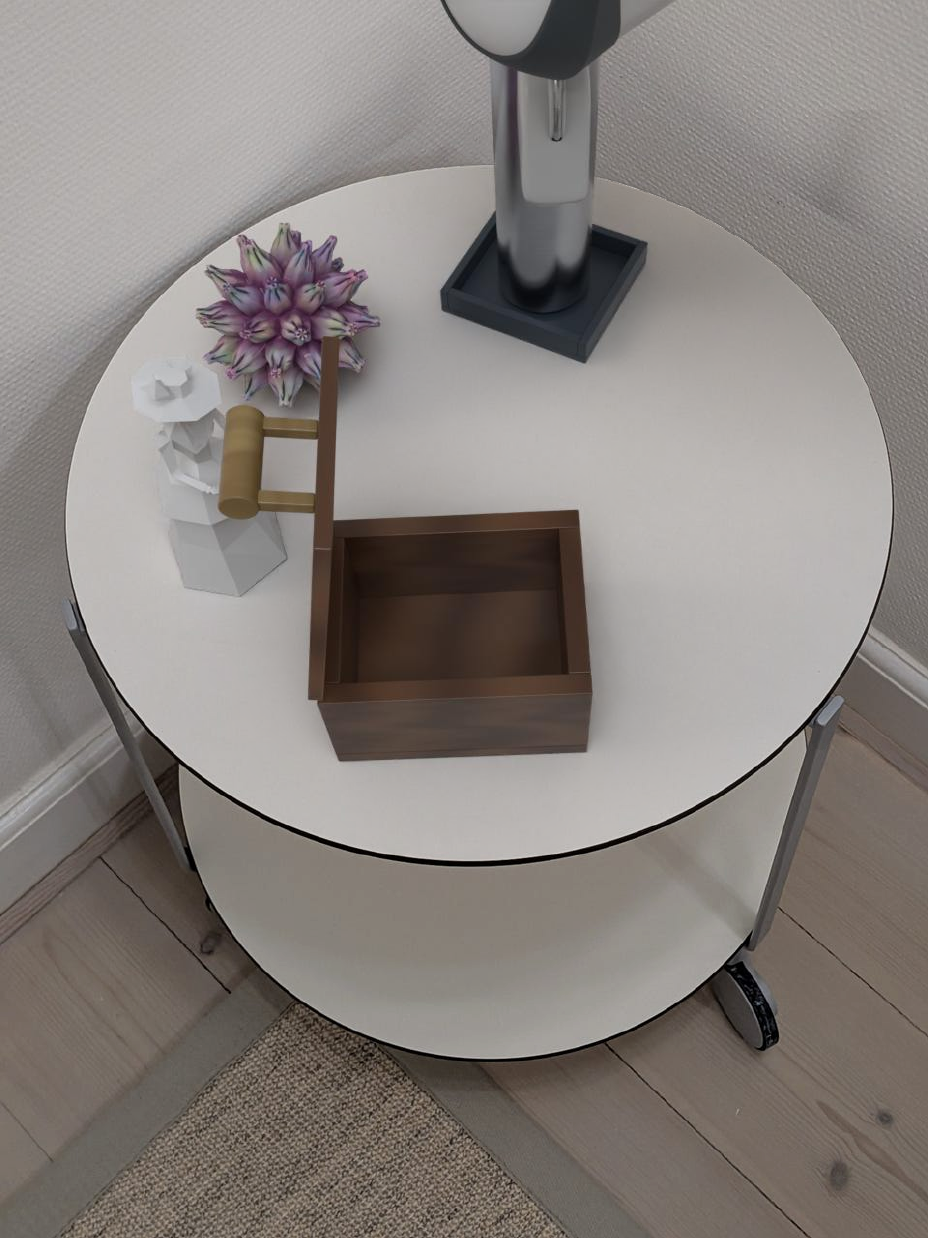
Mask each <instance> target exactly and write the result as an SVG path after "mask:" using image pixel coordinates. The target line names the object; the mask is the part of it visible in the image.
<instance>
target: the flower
mask: <svg viewBox="0 0 928 1238" xmlns="http://www.w3.org/2000/svg"><path fill="white" fill-rule="evenodd" d="M235 242H236V243H237V246H238V248H239V256H240V259H239V263H240V267H241V269H242V271H241V270H239V269H234V268H229V269H228V268H219V267H217V266H214V265H213V264H207V265H206V269H205V270H203V274H204V275H205V276H206V277H207V278H208V279H210V280H211V281H212V282H213V284H214V285H215V287H216V289H217V291H218V293H219V294H220V296H221V297H222V298H223V299H224V300H218V301H216V302H214V303H212V304H210V305H208V306H206V307H198V308H196V309H195V311H194V312H195V313H196V314H195V319H196V320H197V321H198V320H199V323H200V325H202V328H204V329H214V330H215V331H217V332H219V333H220V334H222V336H221V337H220V338H218V340H217V343H216V344H215V346H214V347H213V349H211V350H210V351H209V352H207V353H206V354H204V355H203V357H202V359H203V360H204V361H207V365H213V364H214V363H220V364H221V365H224V367H228V368H227V369H226V371H225V375H227V377H228V379H230V380H231V381H235V380H236V379H238V378H239V377H241V376H243V379H244V380H243V381H244V391H243V392H242V398H245V401H246V402H248V401H250V402H251V401H252V399H253V398H254V396H255V395H256V394H257V393H258V392H260V391H261V390H263V389H264V388H265V387H267V386H268V385H270V387H271V390H272V391H273V392H274V394H275V395H276V397H277V401H278V407H279V408H283V409H286V408H289V409H290V408H293V407H295V405H296V399H297V395H298V393H299V391H300V389H301V388H302V385H303V384H304V381H305V382H307V383H309V384H310V385H311V386H313V387H314V389H315V390H316V392H317V393H319V394H320V373H321V350H322V337H323V336H332V337H339V339H340V343H339V368H347V369H350V370H352V371H354V372H355V373H357V374H359V373H361V372H362V371H363V369H364V368H365V364H366V361H367V358H366V357H365V356H364V355H362V354H361V353H360V351H359V350H358V348H357V346H356V344H355V342H354V341H353V339H352V337H353V336H355V335H357V334H359V333H362V332H363V331H366V330H367V329H369V328H379V327H380V326H381V322H379V321H380V317H379V316H377V315H370V314H369V313H370V309H369V308H368V305H359V304H357V303H355V302H354V301H351V299H352V298H354V296H355V295H356V293H357V292H358V290H359V288H360V286H361V285H362V283H364V282H366V280H368V279H369V275H368V274H367V273H366V272H367V270H365V269H364V268H363V269H360V270H358V271H357V270H356V269H354V268H352V269H349V270H348V271H342V269H343V268H344V267H345V264H344V260H343V258H342V257H341V256H338V257H337V258H335V259H333V257H334V250H335V248H336V246H337V244H338V237H337V236H336V235H332V234H331V235H328V237H327V239H326V240H325V242H324V243H323V244H322V245H320V246H319V247H318V248H316V249H314V250H313V240H311V239H308V240H305V241H304V240H303V241H302V232H300V231H299V230H293V229H291V224H290V222H286V223H285V222H284V223H283V222H280V223H278V232H277V235H276V237H275V238H274V240H273V242H272V245H271V248H270V250H269V252H268V251H266V250H264V249H262V248H261V247H259V246H258V244H257V243H256V241H255V240H254V239H253V238H250V239H249V238H248V236H247V235H245V234H238V235H237V238H235ZM350 336H352V337H350Z"/></svg>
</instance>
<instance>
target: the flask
mask: <svg viewBox="0 0 928 1238" xmlns="http://www.w3.org/2000/svg"><path fill="white" fill-rule="evenodd" d="M601 58H602V55H600V56H599V57H598V58H597V59H595V60H594V61H593V62H592V63H590V64H589V65H588V66H589V76H590V98H591V116H590V157H589V183H588V190H587V194H586V196H585V198H584V199H583V200H582V201H580V202H576V203H567V204H561V205H559V206H548V207H540V206H538V205H532V204H529V203H527V202H526V201H525V199H524V197H523V192H522V184H521V167H520V151H519V134H518V117H517V78H518V71H517V70H514V69H512V68H509V67H507V66H505V65H502V64H500V63H498V62H496V61H494V60H492V59H491V58H489V73H490V77H489V78H490V97H491V99H490V100H491V101H490V102H491V124H492V149H493V173H494V174H493V175H494V176H493V177H494V178H493V179H494V199H495V200H494V201H495V210H496V228H497V253H498V279H499V286H500V289H501V291H502V293H503V294H504V296H505V297H506V298H507V299H508V300H509V301H510V302H511V303H513V304H514V305H516V306H518V307H520V308H522V309H525V310H528V311H532V312H542V313H544V312H554V311H558V310H562V309H564V308H567V307H569V306H571V305H572V304H574V303H575V302H577V301H578V300H579V299H580V298H581V297H582V296H583V294H584V293H585V291H586V289H587V287H588V284H589V277H590V257H591V238H592V224H593V219H594V218H593V217H594V216H593V215H594V198H595V197H594V195H595V177H596V159H597V158H596V157H597V140H598V139H597V137H598V119H599V118H598V117H599V99H600V81H601V80H600V79H601V78H600V77H601V61H602V59H601Z"/></svg>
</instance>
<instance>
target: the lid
mask: <svg viewBox="0 0 928 1238" xmlns="http://www.w3.org/2000/svg"><path fill="white" fill-rule="evenodd" d="M339 343H340V339H339V337H332V336H323V337H322V350H321V373H320V393H319V395H318V396H319V397H318V398H319V399H318V419H309V418H296V417H295V418H294V417H293V418H292V417H277V416H266V415H265V414H264V412H263V411H262V410H260V409H259V408H257V407H255V406H251V405H248V404H241V405H235V406H232V407H231V408H229V409H228V410H227V411H226V413H225V416H224V417H225V428H224V430H223V451H222V463H221V474H220V486H219V497H218V509H219V511H220V512H221V513H222V514H223V515H225V516H227V517H229V518H232V519H239V520H243V519H249V518H252V517H254V516H256V515H257V514H258V512H259V511H271V512H275V513H292V514H293V513H294V514H309V515H310V514H312V515H313V536H312V537H313V539H312V561H311V562H312V563H311V590H310V591H311V593H310V619H309V622H310V625H309V647H308V648H309V649H308V650H309V651H308V682H307V700H308V701H317V700H319V701H322V700H323V695H324V679H325V662H326V646H327V629H328V613H329V596H330V580H331V563H332V545H333V520H334V517H335V516H334V514H335V487H336V486H335V484H336V458H337V457H336V456H337V455H336V454H337V429H338V427H337V424H338V399H339V371H340V370H339V369H340V367H339ZM265 438H276V439H277V438H278V439H293V440H295V439H296V440H310V441H311V440H313V441H316V440H317V441H316V442H317V444H316V467H315V468H316V469H315V492H304V491H286V490H285V491H284V490H264V489H262V480H263V479H262V478H263V477H262V476H263V465H264V463H263V462H264V450H265V449H264V447H265Z"/></svg>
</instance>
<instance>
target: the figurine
mask: <svg viewBox="0 0 928 1238" xmlns="http://www.w3.org/2000/svg"><path fill="white" fill-rule="evenodd" d="M130 388H131V395H132V404H133V410H134V411H135V412H137V413H139V414H141V415H143V416H145V417H147V418H149V419H151V420H153V421H155V422H157V423H162V430H160V431H158V432H156V433H155V434H153V435H152V439H153V441H154V444H155V446H156V449H157V450H158V451H159V453H160V457H159V458H158V459H157V461H156V463H155V464H154V465H153V467H152V468H153V473H154V478H155V482H156V487H157V492H158V498H159V502H160V508H161V512H162V518H165V519H169V524H168V536H169V540H170V543H171V546H172V549H173V553H174V556H175V559H176V563H177V566H178V569H179V572H180V576H181V579H182V582H183V587H184V588H187V589H192V590H199V591H204V592H209V593H215V594H222V595H228V596H232V597H233V596H234V597H239V598H240V597H241V596H243V595H244V594H245V593H246V592H248V591H249V590H250V589H252V587H254V586H255V585H256V584H258V583H259V582H260V581H261V580H262V579H264V577H266V576H267V575H268V574H269V573H271V572H272V571H273V570H274V569H276V568H277V567H278V566H279V565H281V564H282V563H283V562H284V561H285V560H286V559H287V558H288V557H287V553H286V550H285V546H284V542H283V539H282V535H281V531H280V527H279V524H278V523H279V522H278V519H277V516H276V512H271V511H259V512H258V514H257V515H256V516H254V517H252V518H249V519H243V520H239V519H232V518H229V517H227V516H225V515H223V514H222V513H221V512H220V511H219V509H218V497H219V486H220V474H221V463H222V451H223V440H224V438H221V437H216V436H213V433H214V429H215V423H216V424H217V425H218V427H220V429H222V431H224V428H225V417H226V416H224V414H223V413H222V412H221V411H220V410H219V409H217V407H219V405H221V404H223V399H222V394H221V388H220V383H219V378H218V374H217V373H215V372H214V371H212V370H210V369H209V368H208V367H206V366H204V365H202V364H201V363H200V362H198V361H196V360H195V359H194V358H191V357H189V356H188V355H180V356H168V357H164V356H163V355H161V357H158V358H157V357H156V358H155V357H154V358H148V359H147V360H146V361H145V362H144V363H143V365H141V366H140V367H139V369H138V370H137V371H136V372H135V374H134V375H133V376H132V377H131V379H130ZM214 421H215V422H214Z"/></svg>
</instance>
